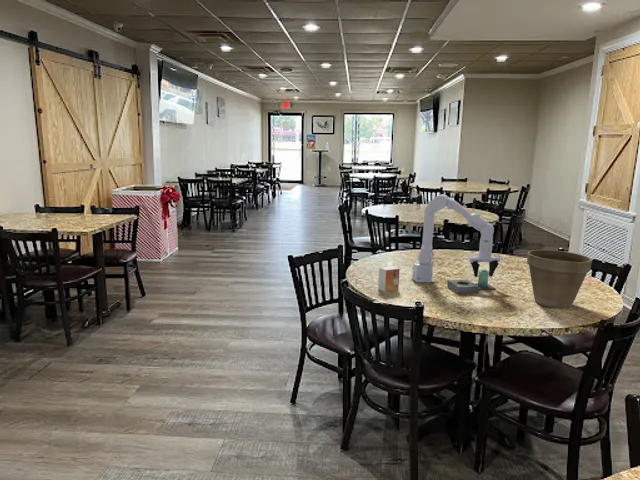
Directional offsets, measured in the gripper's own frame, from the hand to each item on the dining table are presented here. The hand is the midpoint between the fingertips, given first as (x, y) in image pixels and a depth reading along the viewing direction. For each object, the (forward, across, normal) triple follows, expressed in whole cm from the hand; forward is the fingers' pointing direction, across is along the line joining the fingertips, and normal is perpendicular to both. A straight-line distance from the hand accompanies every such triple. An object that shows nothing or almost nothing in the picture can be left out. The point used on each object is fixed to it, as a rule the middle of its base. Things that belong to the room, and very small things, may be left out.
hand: (483, 276), depth 231 cm
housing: (+5, -12, -4) cm, 14 cm away
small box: (+6, -47, 0) cm, 47 cm away
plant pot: (+6, +20, -26) cm, 33 cm away
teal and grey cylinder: (+5, 0, 0) cm, 5 cm away
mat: (+5, 0, 0) cm, 5 cm away
